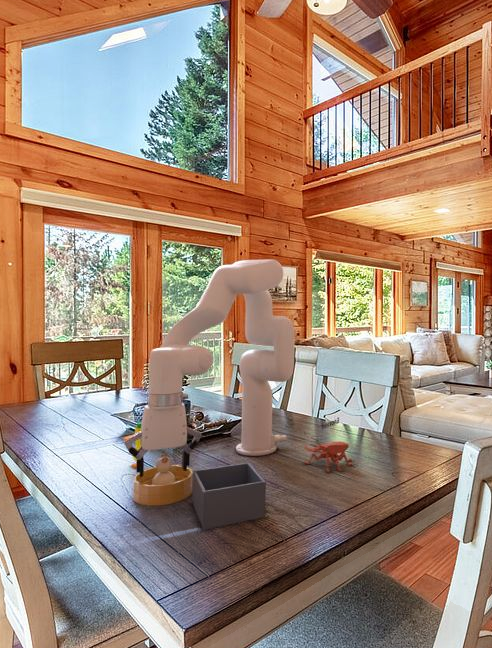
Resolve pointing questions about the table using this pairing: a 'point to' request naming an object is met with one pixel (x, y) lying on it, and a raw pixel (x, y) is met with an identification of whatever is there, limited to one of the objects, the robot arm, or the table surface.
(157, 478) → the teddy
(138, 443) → the toy figure
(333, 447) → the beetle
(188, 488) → the bowl
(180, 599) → the table surface
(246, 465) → the bin
